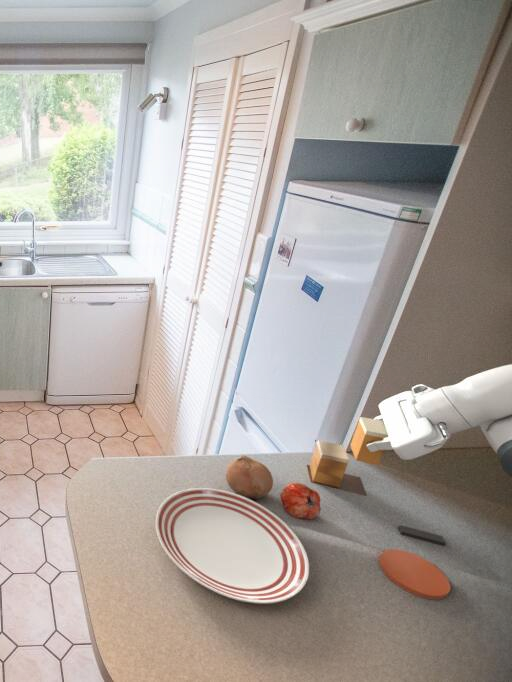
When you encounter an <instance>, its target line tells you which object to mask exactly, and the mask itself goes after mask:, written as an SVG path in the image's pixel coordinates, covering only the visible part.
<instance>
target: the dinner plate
mask: <svg viewBox="0 0 512 682" xmlns="http://www.w3.org/2000/svg"><path fill="white" fill-rule="evenodd" d="M155 531H156V534H157V538H158V541H159V543H160V545H161V547H162V548H163V550H164V552H165V554H167V556H168V557H169V559H170V560H171V561H172V562H173V563H174V565H176V566H177V568H178V569H180V570H181V571H182V573H184V574H185V575H186V576H188V577H189V578H190V579H192V580H193V581H195V582H196V583H198V584H199V585H201V586H203V587H205V588H206V589H208V590H210V591H212V592H213V593H216V594H218V595H221V596H224V597H226V598H229V599H231V600H236V601H238V602H243V603H248V604H249V603H250V604H256V605H257V604H258V605H269V604H276V603H280V602H285V601H287V600H289V599H291V598H294V597H295V596H297V594H299V593H300V592H301V591H302V590H303V588H304V587H305V585H306V584H307V582H308V580H309V576H310V561H309V557H308V554H307V551H306V549H305V547H304V545H303V543H302V542H301V540H300V539H299V537H298V536H297V534H296V533H295V532H294V531H293V530H292V529H291V527H290V526H289V525H288V524H287V523H286V522H285V521H284V520H283V519H282V518H280V517H279V516H278V515H277V514H275V513H274V512H272V510H269V509H268V508H267V507H265V506H264V505H261V504H260V503H258V502H256V501H255V500H250V499H248V498H245V497H243V496H240V495H238V494H237V493H235V492H231V491H227V490H222V489H216V488H211V487H210V488H209V487H194V488H188V489H187V488H186V489H183V490H179V491H177V492H174V493H172V494H170V495H169V496H168V497H166V498H165V499H164V500H163V501H162V502H161V504H160V505H159V507H158V510H157V512H156V516H155Z"/></svg>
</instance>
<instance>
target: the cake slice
mask: <svg viewBox="0 0 512 682" xmlns="http://www.w3.org/2000/svg"><path fill="white" fill-rule="evenodd" d="M356 425H357V426H356V428H355V431H354V434H353V436H352V440H351V442H350V448H351V452H352V453H353V457H354V459H355V461H357V462H362V463H366V464H370V465H375V466H379V463H380V461H381V458H382V455H383V453H384V450H378V451H374V452H371V451H369V449H368V448H367V446H366V443H367V442H369V441H372V440H375V441H382V440H383V439H384V438H387V437H388V434H387V431H386V428H385V426H384V424H383V422H382V421H381V420H375V419H374V418H369V417H363V416H360V417H359V419H358V423H357V424H356Z"/></svg>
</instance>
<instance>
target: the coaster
mask: <svg viewBox="0 0 512 682" xmlns="http://www.w3.org/2000/svg"><path fill="white" fill-rule="evenodd" d="M378 564H379V567H380V569H381V571H382V573H384V575H385V576H386V577H387V578H388V579H389V580H390V581H391V582H392V583H394V584H395V585H397V586H398V587H399V588H401V589H403V590H405V591H406V592H408V593H410V594H412V595H415V596H417V597H420V598H425V599H427V600H442V599H445V598H446V597H447V596H448V595H449V592H451V583H450V581H449V579H448V577H447V576H446V575H445V574H444V573H443V572H442V571H441V570H440V569H439V568H438V567H436V565H434V564H433V563H431V562H430V561H429V560H428V559H425V558H423V557H421V556H419V555H417V554H415V553H412V552H409V551H406V550H403V549H395V548H394V549H393V548H391V549H387V550H384V551H383V552H382V553H381V554H380V556H379V559H378Z"/></svg>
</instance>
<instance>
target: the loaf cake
mask: <svg viewBox="0 0 512 682" xmlns="http://www.w3.org/2000/svg"><path fill="white" fill-rule="evenodd" d="M349 463H350V458H349V455H348V453H347V451H346V448H345V445H344V444H339V443H335V442H329V441H325V440H321V439H318V440H317V442H316V444H315V448H314V451H313V454H312V457H311V459H310V463H309V464H306V469H307V473H308V477H309V482H310V483H311V484H316V485H320V486H324V487H328V488H333V489H337V490H341V491H345V492H348V493H352V494H356V495H360V496H365V497H367V496H368V495H367V493H366V489H365V487H364V484H363V481H362V479H361V477H360V476H356V475H352V474H348V473H346V470H347V467H348V465H349Z"/></svg>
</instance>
